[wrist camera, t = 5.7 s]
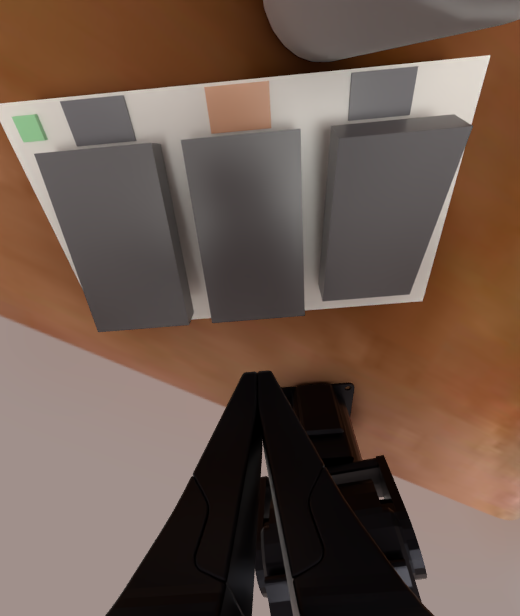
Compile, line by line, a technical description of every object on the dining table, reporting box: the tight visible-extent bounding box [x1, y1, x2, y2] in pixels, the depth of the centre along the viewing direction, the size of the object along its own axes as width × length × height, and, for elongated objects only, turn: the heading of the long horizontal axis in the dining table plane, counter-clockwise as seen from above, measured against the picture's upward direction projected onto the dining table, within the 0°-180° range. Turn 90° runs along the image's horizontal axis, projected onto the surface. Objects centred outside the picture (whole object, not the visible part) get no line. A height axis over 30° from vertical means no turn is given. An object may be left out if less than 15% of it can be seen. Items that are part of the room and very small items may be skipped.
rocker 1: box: [34, 143, 194, 332], centre depth 13 cm, size 7×4×1 cm, turn 5°
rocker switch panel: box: [0, 55, 490, 320], centre depth 15 cm, size 10×17×3 cm, turn 95°
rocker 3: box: [318, 114, 473, 301], centre depth 12 cm, size 7×4×1 cm, turn 5°
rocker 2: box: [181, 129, 305, 323], centre depth 12 cm, size 7×4×1 cm, turn 5°
